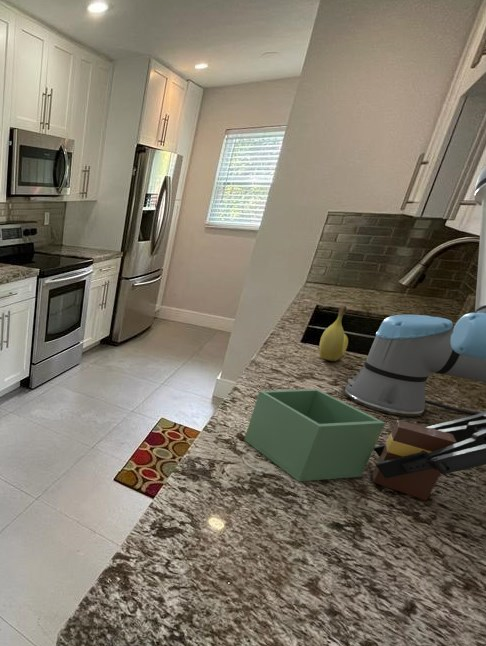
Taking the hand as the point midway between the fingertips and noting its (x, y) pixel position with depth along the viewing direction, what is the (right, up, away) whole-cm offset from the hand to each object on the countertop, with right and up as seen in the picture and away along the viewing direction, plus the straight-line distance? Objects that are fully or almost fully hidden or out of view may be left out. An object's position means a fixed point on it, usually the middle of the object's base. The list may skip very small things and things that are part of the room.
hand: (379, 462), depth 76 cm
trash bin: (-10, -1, +7) cm, 12 cm away
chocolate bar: (+3, -4, -1) cm, 5 cm away
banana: (+41, +17, +59) cm, 74 cm away
